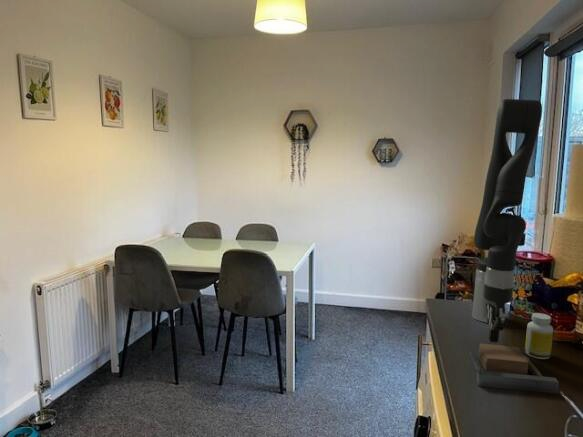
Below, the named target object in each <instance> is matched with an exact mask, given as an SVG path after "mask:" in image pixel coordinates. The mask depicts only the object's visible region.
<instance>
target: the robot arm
mask: <svg viewBox="0 0 583 437" xmlns="http://www.w3.org/2000/svg"><path fill="white" fill-rule="evenodd" d="M542 114H543V104H542V102H541V101H540V100H536V99H521V98H520V99H514V98H506V99H502V101H501V102H500V103H499V106H498V110H497V115H496V119H495V127H494V136H493V143H492V151H491V156H490V162H489V164H488V169H487V173H486V179H485V184H484V190H483V191H484V192H483V197H482V204H481V206H480V207H481V208H480V212H479V215H478V218H477V223H476V226H475V229H474V235H473V244H474V246H475V248H476V249H478V250H481V251H487V256H486V257H482V258H480V259H478V260H477V262H476V269H475V270H476V271H475V281H474V282H475V283H474V291H473V292H474V293H473V301H472V302H473V303H472V314H471V315H472V318H473V319H474V320H475V321H476V320H477V321H479V322H482V323H487V324H488V328H489V330H488V339H489V342H491V343H498V342H499V335H500V332H503V331H504V329H505V327H506V325H507V323H508V321H509V319H508V317H505V315H506V312H507V308H506V307H505V306H506V304H509V303H511V302H513V295H514V294H513V293H514V285H515V284H514V283H515V263H516V256H517V251H518V248H519V246H520V243H521V241H522V239H523V236H524V234H525V232H526V228H527V224H526V221H525V218H524V217H522V216H521V215H517V214H507V213H502V212H503V211H504V210H505V209H507V208H513V207H514V208H515V207H519V206H520V205H522V202H523V198H524V193H525V184H526V178H527V173H528V171H529V165H530V162H531V159H532V156H533V151H534V148H535V145H536V141H537V139H538V138H537V137H538V134H539V130H540V124H541V121H542ZM507 133H512V134H524V137H523V140H522V142H521V144H520V146H519V147H518V149H517V150H516V151H515V153H514V154H513V153H512V152H511V150H510V146H509V144H508V140H507Z"/></svg>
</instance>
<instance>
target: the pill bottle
mask: <svg viewBox="0 0 583 437" xmlns="http://www.w3.org/2000/svg"><path fill="white" fill-rule="evenodd" d="M531 320H532V321H529V322H528V323H527V325H526V326H527V327H526V336H525V345H524V352H525V354H526V355H528V357H532V358H534V359H538V360H548V359H550V357H551V355H552V346H553V339H554V327H553V326H552V325H551V322H552V317H551V316H550V315H548V314H544V313H540V312H533V313H532V314H531Z"/></svg>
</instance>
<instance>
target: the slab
mask: <svg viewBox="0 0 583 437" xmlns="http://www.w3.org/2000/svg"><path fill="white" fill-rule="evenodd" d="M478 344H479V345H478V353H477V355H478V358H479V360H480V362H481V364H482V367H483V369H484V371H489V372H500V373H510V374H521V375H528V370H529V369H528V363H529V362H528V361H527V359H526V358H525V357H524V356H525V355H524V354H523V353H522V351H521V349H520V348H519V347H518V346H513V345H512V346H511V345H510V346H509V345H500V344H491V343H489V344H488V343H480V342H479V343H478Z"/></svg>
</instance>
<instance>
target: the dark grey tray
mask: <svg viewBox="0 0 583 437" xmlns="http://www.w3.org/2000/svg"><path fill="white" fill-rule="evenodd" d="M524 357H525V358H526V359H527V361H528V362H529V363H528V370H529V371H530V373H531V374H532V375H530V374H527V375H521V374H510V373H500V372H489V371H486V370H485V369H484V367H483V365H481V364H482V363H480V361H479V359H478V357H477V355H476V354H475V352H474V351H469V358H470V360H471V362H472V364H473V367H474V368H475V370H476V379H475V380H476V381H475V382H476V384H477V386H478V387H487V388H498V389H505V390H506V389H507V390H517V391H527V392H538V393H546V394H558V392H559V391H558V390H559V386H560V385H559V383H560V381H558V379H557V377H550V376H543V374H542V373H541V372H540V371H539V369H538V367H536V366H535V365H534V363H533V362H532V361H531V359H530V358H529V356H526V355H524Z"/></svg>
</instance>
